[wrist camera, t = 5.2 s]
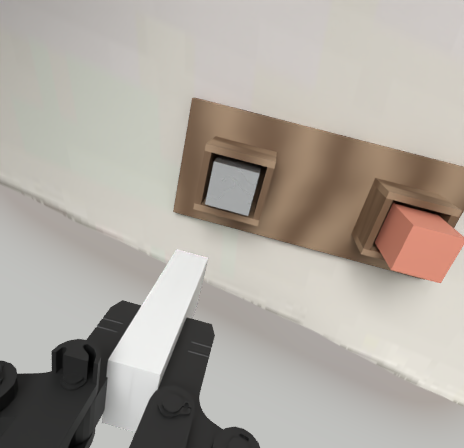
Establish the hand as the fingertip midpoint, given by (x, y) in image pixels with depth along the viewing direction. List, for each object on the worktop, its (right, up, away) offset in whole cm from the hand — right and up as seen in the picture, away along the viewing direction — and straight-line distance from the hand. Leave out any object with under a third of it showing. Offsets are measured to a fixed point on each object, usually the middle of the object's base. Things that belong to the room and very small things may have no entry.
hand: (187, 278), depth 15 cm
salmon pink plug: (+18, +2, +14) cm, 23 cm away
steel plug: (+3, +7, +18) cm, 20 cm away
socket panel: (+11, +6, +19) cm, 22 cm away
